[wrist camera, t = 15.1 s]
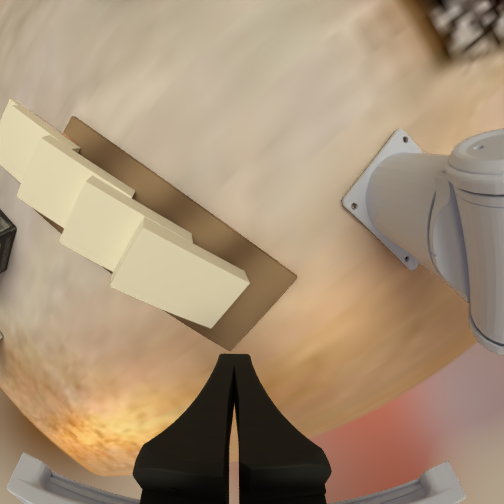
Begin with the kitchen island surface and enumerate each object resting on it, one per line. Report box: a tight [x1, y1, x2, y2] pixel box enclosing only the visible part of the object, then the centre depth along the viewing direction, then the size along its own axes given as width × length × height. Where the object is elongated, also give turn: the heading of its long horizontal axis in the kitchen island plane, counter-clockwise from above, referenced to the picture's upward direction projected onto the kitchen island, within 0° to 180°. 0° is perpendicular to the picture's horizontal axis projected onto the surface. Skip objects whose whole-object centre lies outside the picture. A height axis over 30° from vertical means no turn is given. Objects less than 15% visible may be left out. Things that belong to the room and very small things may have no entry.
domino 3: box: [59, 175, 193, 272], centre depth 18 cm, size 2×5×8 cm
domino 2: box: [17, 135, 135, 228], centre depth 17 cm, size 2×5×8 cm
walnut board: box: [33, 116, 297, 351], centre depth 21 cm, size 22×9×1 cm, turn 53°
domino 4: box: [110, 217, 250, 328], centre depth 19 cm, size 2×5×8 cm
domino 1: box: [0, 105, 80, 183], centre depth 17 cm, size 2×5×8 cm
